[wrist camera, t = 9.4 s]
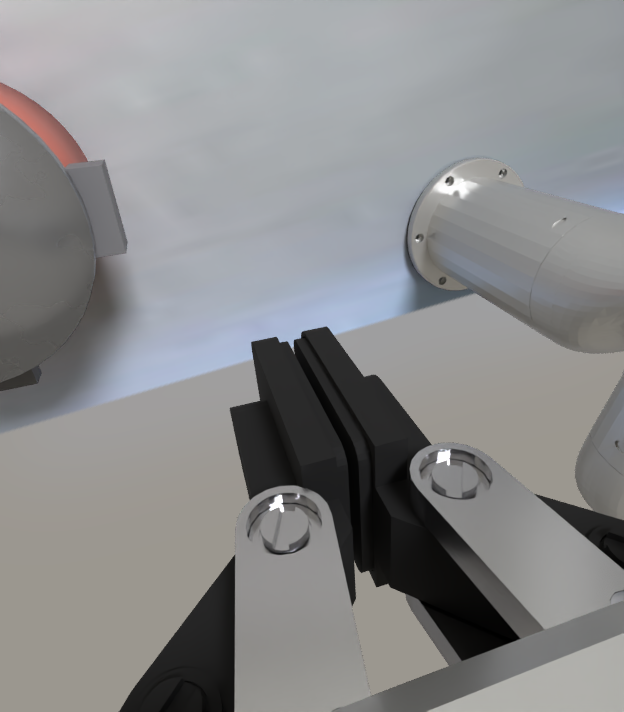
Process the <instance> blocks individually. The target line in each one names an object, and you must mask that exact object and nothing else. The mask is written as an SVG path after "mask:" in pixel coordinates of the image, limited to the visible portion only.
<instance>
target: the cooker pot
mask: <svg viewBox="0 0 624 712" xmlns="http://www.w3.org/2000/svg"><path fill="white" fill-rule="evenodd" d="M0 103H1V104H2V105H4V106H5V107H6V108H8V109H9V110H10V111H11V112H13V113H14V114H15V115H17V116H18V117H19V118H20V119H22V120H23V121H24V122H25V123H26V124H27V125H28V126H29V127H30V128H31V129H32V130H33V131H34V132H35V133H36V134H38V135H39V136H40V137H41V139H42V140H43V141H44V142H45V143H46V144H47V145H48V147H49V148H50V149H51V150H52V151H53V152H54V154H55V155H56V156H57V157H58V159H59V160H60V162H61V163H62V164H63V166H64V167H65V169H66V170H67V172H68V173H69V175H70V176H71V178H72V180H73V181H74V183H75V185H76V187H77V189H78V191H79V193H80V195H81V196H82V199H83V202H84V204H85V207H86V209H87V212H88V215H89V217H90V221H91V226H92V230H93V234H94V240H95V250H96V258H98V257H105V256H111V255H117V254H124V253H126V250H127V239H126V235H125V232H124V228H123V224H122V221H121V217H120V214H119V210H118V206H117V203H116V199H115V196H114V192H113V188H112V185H111V181H110V178H109V174H108V170H107V167H106V163H105V160H98V161H89V162H88V161H87V159H86V157H85V155H84V153H83V152H82V150H81V149H80V147H79V146H78V144H77V143H76V141H75V140H74V139H73V137H72V136H71V135H70V134H69V133H68V131H67V130H66V129H65V128H64V127H63V126H62V125H61V124H60V123H59V122H58V121H57V120H56V119H55V118H54V117H53V116H52V115H51V114H50V113H49V112H47V111H46V110H45V109H44V108H42V107H41V106H40V105H39V104H37V103H36V102H35V101H33V100H31V99H30V98H28V97H27V96H25V95H24V94H22V93H20V92H19V91H17V90H15V89H13V88H11V87H9V86H7V85H5V84H3V83H0ZM40 376H41V370H40V368H39V366H38V365H37V366H36V367H34V368H32V369H30V370H28V371H27V372H25V373H23V374H21V375H19V376H16V377H14V378H11V379H8V380H6V381H3V382H0V391H3V390H8V389H13V388H18V387H22V386H27V385H32V384H37V383H38V381H39V378H40Z"/></svg>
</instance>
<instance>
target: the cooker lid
mask: <svg viewBox="0 0 624 712" xmlns="http://www.w3.org/2000/svg"><path fill="white" fill-rule="evenodd" d="M95 266H96V250H95V240H94V234H93V230H92V226H91V221H90V217H89V215H88V212H87V209H86V207H85V204H84V202H83V199H82V196H81V195H80V193H79V191H78V189H77V187H76V185H75V183H74V181H73V180H72V178H71V176H70V175H69V173H68V172H67V170H66V169H65V167H64V166H63V164H62V163H61V162H60V160H59V159H58V157H57V156H56V155H55V154H54V152H53V151H52V150H51V149H50V148H49V147H48V145H47V144H46V143H45V142H44V141H43V140H42V139H41V137H40V136H39V135H38V134H36V133H35V132H34V131H33V130H32V129H31V128H30V127H29V126H28V125H27V124H26V123H25V122H24V121H23V120H22V119H20V118H19V117H18V116H17V115H15V114H14V113H13V112H11V111H10V110H9V109H8V108H6V107H5V106H4V105H2V104H1V103H0V382H3V381H6V380H8V379H11V378H14V377H16V376H19V375H21V374H23V373H25V372H27V371H28V370H30V369H32V368H34V367H36V366H37V365H39V364H40V363H42V362H43V361H45V360H46V359H47V358H49V357H50V356H52V355H53V354H54V353H55V352H56V351H57V350H58V349H59V348H60V347H61V346H62V345H63V344H64V343H65V342H66V341H67V339H68V338H69V337H70V336H71V334H72V333H73V332H74V331H75V329H76V327H77V326H78V324H79V322H80V320H81V319H82V317H83V315H84V313H85V310H86V307H87V305H88V302H89V299H90V296H91V291H92V287H93V282H94V277H95Z"/></svg>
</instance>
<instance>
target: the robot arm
mask: <svg viewBox="0 0 624 712" xmlns="http://www.w3.org/2000/svg"><path fill="white" fill-rule="evenodd" d="M416 236H417V237H416ZM407 241H408V250H409V255H410V258H411V261H412V263H413V265H414V267H415V269H416V270H417V272H418V273H419V274H420V275H421V276H422V277H423V278H424V279H425V280H427V281H428V282H429V283H431V284H432V285H434V286H436V287H438V288H441V289H445V290H450V291H460V290H465V289H470V290H472V291H473V292H475V293H477V294H478V295H480V296H482V297H483V298H485V299H486V300H488V301H489V302H491V303H492V304H494V305H496V306H497V307H499V308H500V309H502V310H504V311H505V312H507V313H509V314H510V315H512V316H513V317H515V318H516V319H518V320H519V321H521V322H523V323H524V324H526V325H528V326H529V327H531V328H532V329H534V330H535V331H537V332H538V333H540V334H542V335H543V336H545V337H547V338H548V339H550V340H552V341H553V342H555V343H556V344H558V345H560V346H562V347H565V348H567V349H570V350H573V351H577V352H583V353H593V354H595V353H597V354H599V353H614V352H621V351H624V214H622V213H617V212H613V211H610V210H606V209H602V208H598V207H595V206H591V205H587V204H584V203H580V202H576V201H572V200H569V199H565V198H561V197H558V196H554V195H550V194H546V193H543V192H539V191H535V190H532V189H528V188H524V185H523V182H522V181H521V179H520V178H519V176H518V174H517V173H516V172H515V171H514V170H513V169H512V168H511V167H509V166H508V165H506V164H504V163H502V162H500V161H497V160H493V159H488V158H472V159H466V160H463V161H460V162H458V163H455V164H453V165H452V166H450V167H448V168H447V169H445V170H443V171H442V172H441V173H440V174H439V175H438V176H436V177H435V178H434V179H433V180H432V181H431V182H430V184H429V185H428V186H427V187H426V188H425V190H424V191H423V193H422V194H421V196H420V198H419V199H418V201H417V203H416V205H415V208H414V210H413V212H412V215H411V219H410V223H409V227H408V239H407ZM251 345H252V353H253V359H254V365H255V371H256V377H257V383H258V390H259V396H260V401H258V402H253V403H249V404H245V405H240V406H236V407H232V408H230V412H231V417H232V421H233V426H234V432H235V436H236V441H237V446H238V450H239V455H240V459H241V464H242V469H243V473H244V477H245V481H246V486H247V490H248V494H249V499H250V501H249V502H248V503H247V504H246V505H245V506H244V508H243V509H242V511H241V513H240V514H239V516H238V519H237V524H236V529H235V555H234V557H233V558H232V559H231V561H230V562H229V563H228V565H227V566H226V567H225V568H224V570H223V571H222V572H221V574H220V575H219V577H218V578H217V579H216V580H215V582H214V583H213V584H212V586H211V587H210V588H209V590H208V591H207V592H206V593H205V595H204V596H203V597H202V599H201V600H200V601H199V603H198V604H197V605H196V607H195V608H194V609H193V611H192V612H191V613H190V615H189V616H188V617H187V619H186V620H185V621H184V623H183V624H182V626H180V628H179V629H178V630H177V632H176V633H175V634H174V636H173V637H172V638H171V640H170V641H169V642H168V644H167V645H166V646H165V648H164V649H163V650H162V652H161V653H160V654H159V656H158V657H157V658H156V660H155V661H154V662H153V664H152V665H151V666H150V667H149V669H148V670H147V671H146V673H145V674H144V675H143V677H142V678H141V679H140V681H139V682H138V683H137V685H136V686H135V687H134V689H133V690H132V691H131V693H130V695H129V696H128V698H127V700H126V701H125V703H124V705H123V706H122V708H121V710H120V711H119V712H624V371H623V375H622V377H621V379H620V380H619V382H618V384H617V385H616V387H615V389H614V391H613V392H612V394H611V396H610V398H609V399H608V401H607V403H606V405H605V406H604V409H603V410H602V411H601V413H600V415H599V417H598V418H597V420H596V422H595V424H594V425H593V427H592V429H591V431H590V433H589V435H588V436H587V438H586V440H585V442H584V444H583V446H582V448H581V450H580V452H579V455H578V458H577V461H576V466H575V478H576V483H577V487H578V489H579V491H580V493H581V495H582V497H583V498H584V500H585V501H586V502H587V504H588V505H589V506H590V507H591V508H592V509H593V511H591V510H587V509H584V508H580V507H577V506H574V505H570V504H567V503H564V502H560V501H556V500H553V499H550V498H546V497H543V496H540V495H536V494H533V493H532V492H531V491H530V490H529V489H527V488H526V487H525V486H524V485H523V484H521V483H520V482H519V481H518V480H517V479H516V478H514V477H513V476H512V475H511V474H510V473H508V472H507V471H506V470H505V469H504V468H503V467H501V466H500V465H499V464H498V463H497V462H496V461H494V460H493V459H492V458H491V457H489V456H488V455H486V454H485V453H483V452H482V451H480V450H478V449H475V448H473V447H470V446H468V445H464V444H458V443H438V444H434V445H431V443H430V442H429V441H428V440H427V438H426V437H425V436H424V434H423V433H422V432H421V431H420V429H419V428H418V427H417V425H416V424H415V423H414V422H413V420H412V419H411V418H410V416H409V415H408V414H407V413H406V411H405V410H404V409H403V408H402V406H401V405H400V404H399V402H398V401H397V400H396V399H395V397H394V396H393V395H392V393H391V392H390V391H389V389H388V388H387V387H386V386H385V384H384V383H383V382H382V381H381V379H380V378H379V377H378V376H376V375H370V376H366V377H364V376H363V375H362V374H361V372H360V371H359V370H358V368H357V367H356V365H355V364H354V363H353V361H352V360H351V359H350V357H349V356H348V354H347V353H346V352H345V350H344V349H343V348H342V346H341V345H340V343H339V342H338V341H337V339H336V338H335V337H334V335H333V334H332V332H331V331H330V330H329V328H328V327H322V328H317V329H312V330H308V331H303V332H302V333H301V339H296V340H294V352H295V354H294V352H293V351H292V349H291V347H290V345H289V343H288V342H287V341H286V342H281V343H280V342H279V340H278V338H277V337H273V338H268V339H263V340H259V341H254V342H251ZM354 561H355V563H356V565H357V567H358V570H359V571H360V572H361V573H362V572H365V571H369V572H370V574H371V576H372V578H373V580H374V583H375V585H376V587H379V586H382V585H385V584H389V586H390V587H391V588H393V589H396V590H398V591H400V592H402V593H405V594H406V600H407V602H408V604H409V606H410V608H411V610H412V612H413V613H414V615H415V616H416V618H417V619H418V621H419V622H420V623H421V625H422V626H423V628H424V629H425V631H426V632H427V634H428V635H429V637H430V638H431V640H432V641H433V643H434V644H435V646H436V647H437V649H438V650H439V652H440V653H441V654H442V656H443V657H444V659H445V660H446V662H447V663H448V665H449V666H448V667H446V668H443V669H441V670H438V671H435V672H432V673H430V674H427V675H425V676H422V677H419V678H417V679H414V680H411V681H409V682H406V683H404V684H401V685H398V686H396V687H393V688H391V689H388V690H385V691H383V692H380V693H378V694H375V695H372V696H371V692H370V688H369V683H368V679H367V674H366V669H365V665H364V660H363V656H362V651H361V646H360V642H359V637H358V633H357V628H356V623H355V619H354V614H353V610H352V606H353V604H354V601H355V599H356V592H355V573H354Z"/></svg>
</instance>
